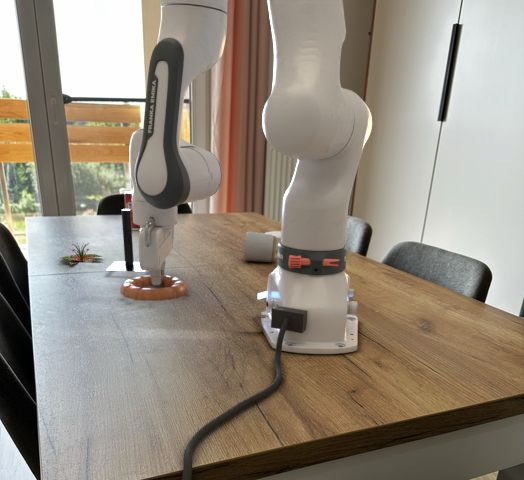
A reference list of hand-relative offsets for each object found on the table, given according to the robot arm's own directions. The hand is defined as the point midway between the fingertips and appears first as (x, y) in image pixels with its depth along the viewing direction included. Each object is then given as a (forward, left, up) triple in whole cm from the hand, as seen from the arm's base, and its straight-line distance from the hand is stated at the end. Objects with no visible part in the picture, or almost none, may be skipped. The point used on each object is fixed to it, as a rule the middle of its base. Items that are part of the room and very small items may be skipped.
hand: (158, 281), depth 108 cm
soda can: (+72, +19, -2) cm, 75 cm away
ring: (-5, 0, 0) cm, 5 cm away
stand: (+14, +9, -2) cm, 17 cm away
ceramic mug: (+31, -22, -2) cm, 38 cm away
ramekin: (+47, -28, -2) cm, 55 cm away
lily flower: (+23, +23, -2) cm, 33 cm away
